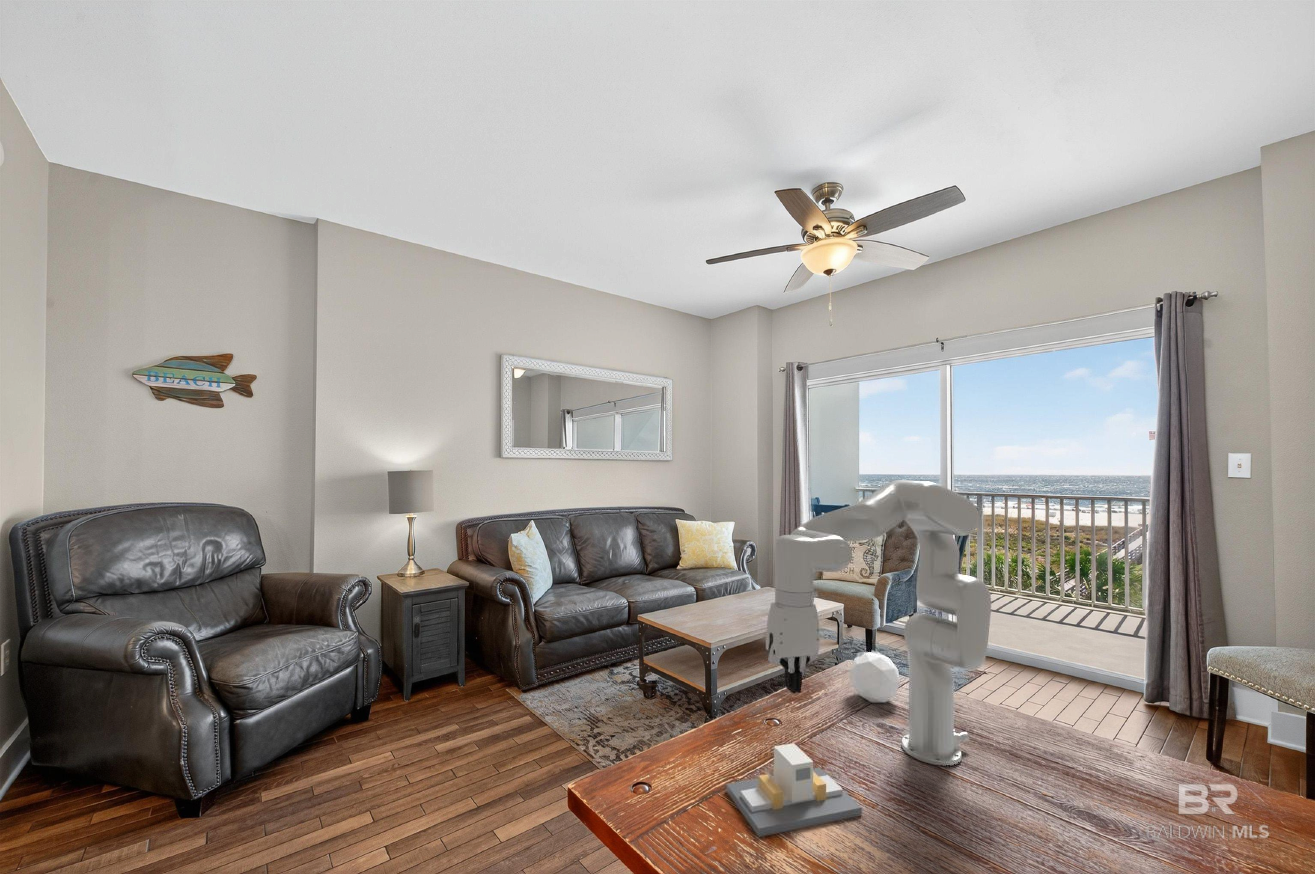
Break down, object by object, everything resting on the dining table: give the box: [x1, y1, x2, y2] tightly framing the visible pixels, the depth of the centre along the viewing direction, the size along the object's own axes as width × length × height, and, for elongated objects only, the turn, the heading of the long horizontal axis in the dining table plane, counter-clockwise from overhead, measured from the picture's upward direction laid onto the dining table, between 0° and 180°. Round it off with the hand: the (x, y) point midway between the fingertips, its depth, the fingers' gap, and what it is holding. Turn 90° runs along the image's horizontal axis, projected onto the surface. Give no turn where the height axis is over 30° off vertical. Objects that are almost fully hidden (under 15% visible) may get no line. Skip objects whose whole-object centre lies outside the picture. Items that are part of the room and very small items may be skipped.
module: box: [773, 742, 814, 802], centre depth 108 cm, size 5×7×7 cm, turn 18°
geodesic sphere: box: [849, 649, 901, 703], centre depth 156 cm, size 14×14×14 cm
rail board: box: [725, 767, 863, 838], centre depth 108 cm, size 22×14×4 cm, turn 107°
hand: (793, 690), depth 109 cm, fingers closed
